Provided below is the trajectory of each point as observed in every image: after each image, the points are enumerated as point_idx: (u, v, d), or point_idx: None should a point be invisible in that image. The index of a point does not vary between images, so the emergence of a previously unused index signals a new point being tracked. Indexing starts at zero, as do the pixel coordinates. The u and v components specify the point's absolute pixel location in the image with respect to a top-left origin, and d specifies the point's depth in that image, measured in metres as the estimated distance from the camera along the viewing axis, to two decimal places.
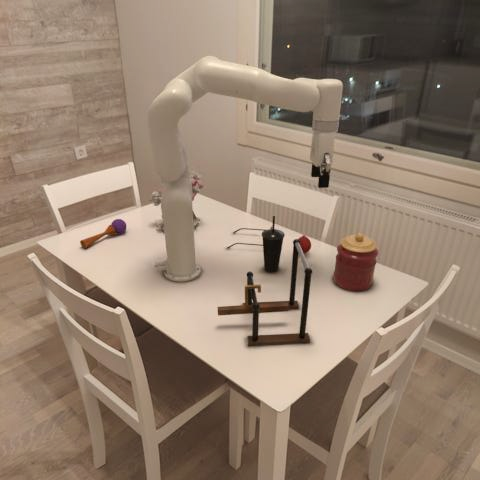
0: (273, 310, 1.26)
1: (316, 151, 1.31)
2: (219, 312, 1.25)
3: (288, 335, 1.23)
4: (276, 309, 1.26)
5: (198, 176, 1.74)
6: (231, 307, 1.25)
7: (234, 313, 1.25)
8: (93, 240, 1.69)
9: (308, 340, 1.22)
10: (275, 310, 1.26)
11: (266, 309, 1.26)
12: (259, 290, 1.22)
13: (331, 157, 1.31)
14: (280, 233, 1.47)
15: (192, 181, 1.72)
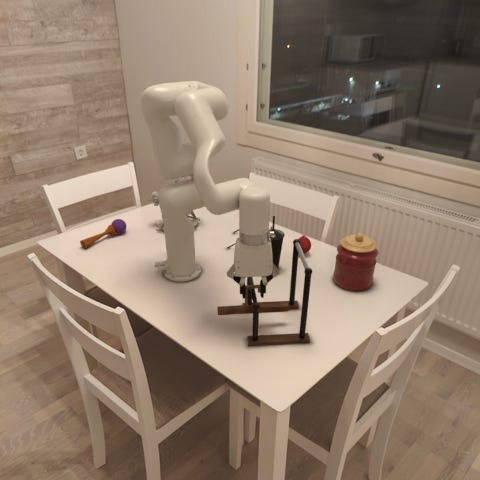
0: (273, 310, 1.26)
1: None
2: (219, 312, 1.25)
3: (288, 335, 1.23)
4: (276, 309, 1.26)
5: None
6: (231, 307, 1.25)
7: (233, 313, 1.25)
8: (93, 240, 1.69)
9: (308, 340, 1.22)
10: (275, 310, 1.26)
11: (266, 309, 1.26)
12: (259, 290, 1.22)
13: (235, 266, 1.16)
14: (280, 233, 1.47)
15: None
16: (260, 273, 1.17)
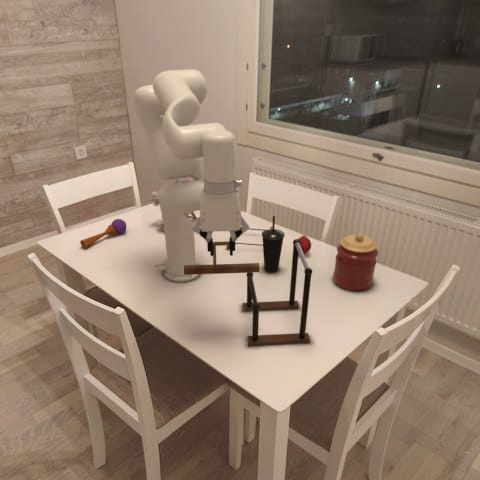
0: (243, 270, 1.18)
1: None
2: (185, 271, 1.17)
3: (288, 335, 1.23)
4: (246, 269, 1.18)
5: None
6: (198, 266, 1.17)
7: (201, 272, 1.17)
8: (93, 240, 1.69)
9: (308, 340, 1.22)
10: (245, 270, 1.18)
11: (236, 269, 1.17)
12: (228, 247, 1.14)
13: (200, 219, 1.08)
14: (280, 233, 1.47)
15: None
16: (227, 227, 1.09)
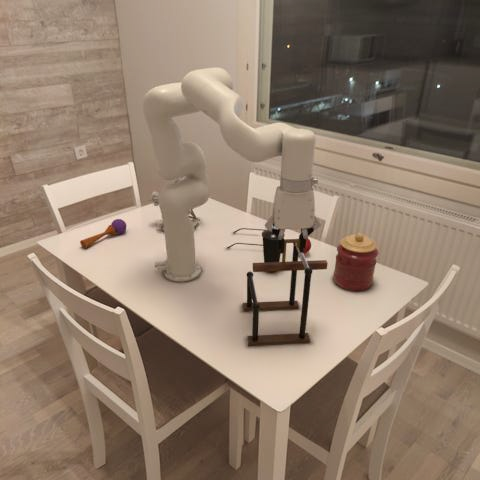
0: (311, 267, 1.19)
1: None
2: (255, 268, 1.18)
3: (288, 335, 1.23)
4: (314, 266, 1.19)
5: None
6: (267, 263, 1.18)
7: (270, 270, 1.19)
8: (93, 240, 1.69)
9: (308, 340, 1.22)
10: (313, 268, 1.19)
11: None
12: (298, 245, 1.16)
13: (275, 217, 1.10)
14: None
15: None
16: (301, 224, 1.11)
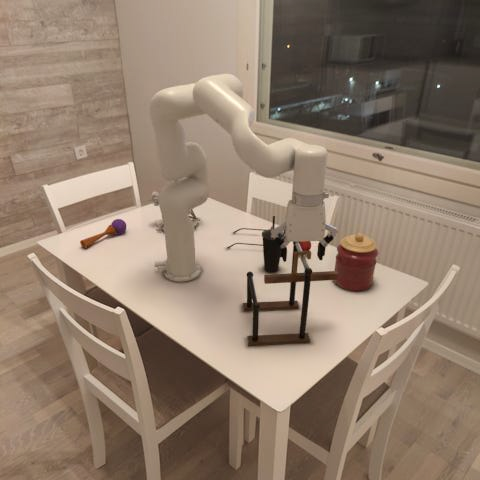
0: (322, 278, 1.21)
1: None
2: (266, 280, 1.20)
3: (288, 335, 1.23)
4: (325, 277, 1.21)
5: None
6: (279, 275, 1.20)
7: (281, 281, 1.21)
8: (93, 240, 1.69)
9: (308, 340, 1.22)
10: (324, 278, 1.21)
11: (315, 277, 1.21)
12: (309, 257, 1.18)
13: (286, 230, 1.12)
14: (280, 233, 1.47)
15: None
16: (312, 237, 1.13)
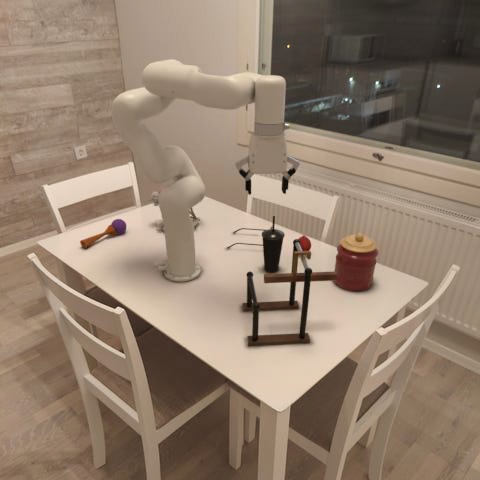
0: (321, 279, 1.21)
1: None
2: (266, 279, 1.20)
3: (288, 335, 1.23)
4: (324, 278, 1.21)
5: None
6: (278, 275, 1.20)
7: (281, 281, 1.21)
8: (93, 240, 1.69)
9: (308, 340, 1.22)
10: (323, 279, 1.21)
11: (314, 278, 1.21)
12: (309, 257, 1.18)
13: (249, 161, 1.17)
14: (280, 233, 1.47)
15: None
16: (274, 169, 1.18)
